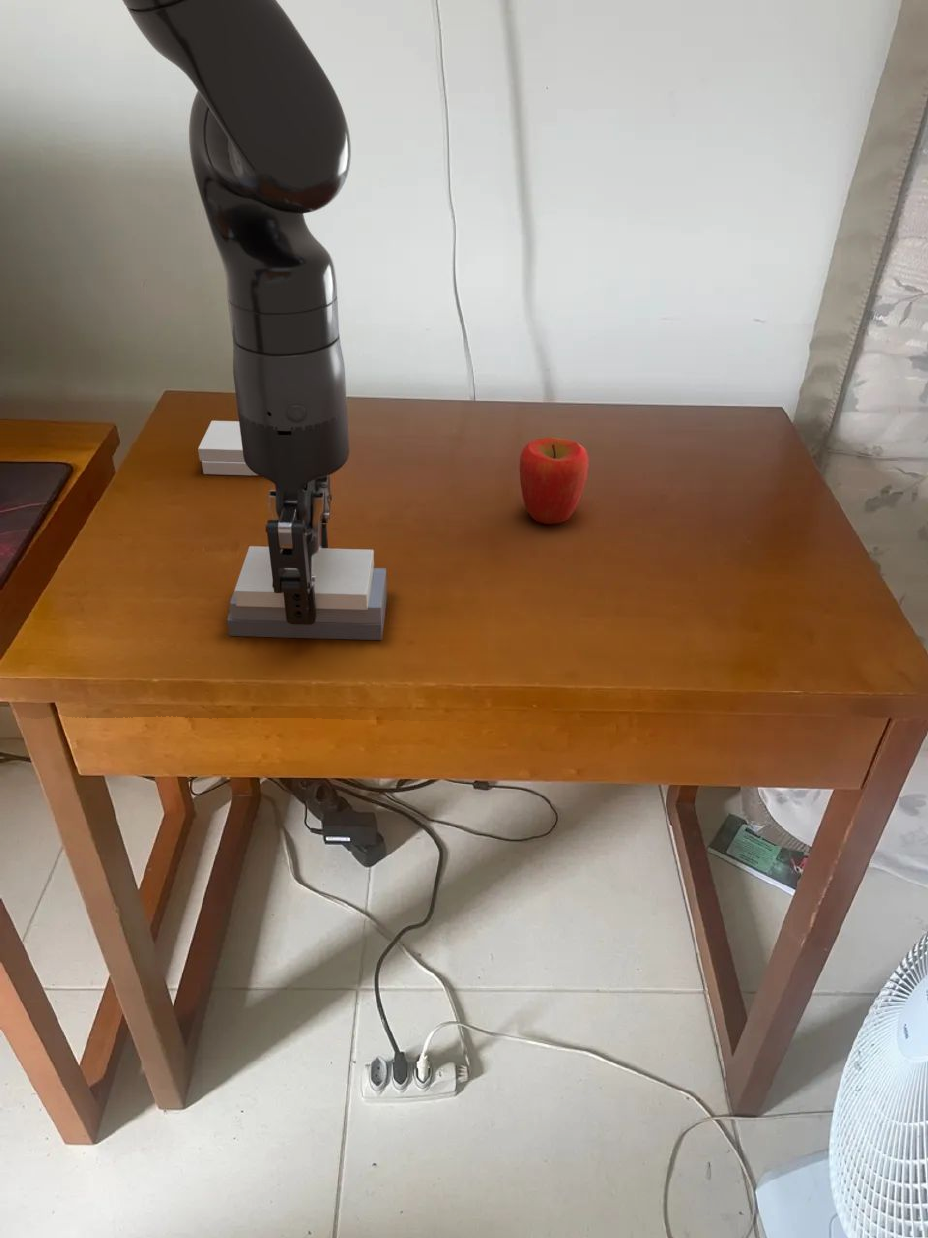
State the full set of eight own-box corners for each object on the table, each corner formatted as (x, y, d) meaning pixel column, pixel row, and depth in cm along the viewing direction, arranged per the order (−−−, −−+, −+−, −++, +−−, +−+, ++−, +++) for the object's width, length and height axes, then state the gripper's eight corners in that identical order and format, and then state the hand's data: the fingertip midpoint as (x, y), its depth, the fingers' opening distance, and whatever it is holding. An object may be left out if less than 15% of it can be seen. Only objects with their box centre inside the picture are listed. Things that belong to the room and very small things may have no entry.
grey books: (228, 636, 77) (223, 603, 75) (242, 595, 81) (238, 563, 79) (381, 640, 77) (380, 608, 75) (386, 599, 81) (386, 567, 80)
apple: (562, 494, 96) (569, 424, 92) (594, 525, 92) (603, 453, 87) (505, 506, 94) (509, 435, 90) (534, 538, 90) (540, 465, 85)
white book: (236, 606, 75) (233, 590, 74) (251, 561, 80) (249, 545, 79) (367, 610, 75) (366, 594, 74) (374, 564, 80) (373, 549, 79)
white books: (201, 474, 97) (197, 448, 96) (214, 444, 102) (211, 420, 101) (304, 477, 98) (302, 451, 96) (312, 447, 103) (310, 423, 101)
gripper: (256, 356, 74) (276, 541, 83) (215, 445, 62) (244, 647, 72) (356, 359, 74) (364, 544, 84) (334, 448, 62) (346, 650, 72)
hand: (308, 591), depth 78 cm, fingers open, 7 cm apart
